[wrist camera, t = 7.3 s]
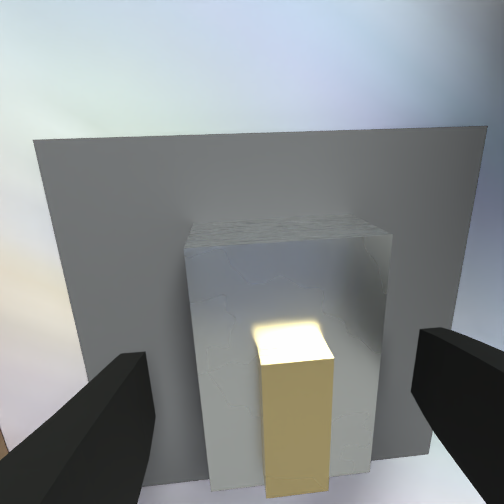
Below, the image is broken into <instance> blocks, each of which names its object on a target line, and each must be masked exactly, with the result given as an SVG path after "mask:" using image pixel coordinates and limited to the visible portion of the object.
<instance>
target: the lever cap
mask: <svg viewBox="0 0 504 504" xmlns="http://www.w3.org/2000/svg"><path fill="white" fill-rule="evenodd" d="M392 237H393V234H390V233H388V232H386V231H384V230H382V229H380V228H378V227H376V226H374V225H372V224H370V223H368V222H366V221H364V220H362V219H360V218H358V217H356V216H354V215H351V214H340V215H323V216H307V217H290V218H274V219H257V220H241V221H224V222H208V223H193V226H192V228H191V231H190V233H189V236H188V238H187V241H186V244H185V246H184V257H185V265H186V274H187V283H188V292H189V301H190V310H191V318H192V327H193V336H194V345H195V354H196V363H197V371H198V380H199V389H200V398H201V407H202V416H203V424H204V433H205V442H206V451H207V460H208V469H209V477H210V486H211V492H213V491H221V490H229V489H237V488H245V487H253V486H261V485H265V492H266V499H267V498H275V497H283V496H291V495H299V494H307V493H315V492H322V491H328V488H329V477H334V476H342V475H351V474H359V473H367V472H370V463H371V453H372V443H373V432H374V422H375V412H376V401H377V391H378V381H379V371H380V360H381V350H382V340H383V329H384V319H385V309H386V298H387V288H388V278H389V268H390V257H391V247H392Z"/></svg>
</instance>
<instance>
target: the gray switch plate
mask: <svg viewBox="0 0 504 504" xmlns="http://www.w3.org/2000/svg"><path fill="white" fill-rule="evenodd" d="M487 127H488V126H468V127H436V128H403V129H371V130H338V131H306V132H273V133H241V134H208V135H176V136H143V137H111V138H78V139H46V140H33V143H34V147H35V151H36V156H37V160H38V164H39V169H40V173H41V177H42V182H43V186H44V190H45V195H46V199H47V203H48V208H49V212H50V216H51V221H52V225H53V229H54V234H55V238H56V242H57V247H58V251H59V255H60V260H61V264H62V268H63V273H64V277H65V281H66V286H67V290H68V294H69V299H70V303H71V307H72V312H73V316H74V320H75V325H76V329H77V333H78V338H79V342H80V346H81V351H82V355H83V359H84V364H85V368H86V372H87V377H88V381H89V382H90V381H91V380H92V379H93V378H94V377H95V376H96V375H97V374H99V373H100V372H101V371H102V370H103V369H104V368H105V367H106V366H107V365H108V364H109V363H110V362H111V361H113V360H114V359H115V358H116V357H117V356H118V355H119V354H121V353H132V352H145V351H146V358H147V364H148V370H149V377H150V383H151V389H152V395H153V402H154V408H155V414H156V419H155V425H154V432H153V439H152V445H151V450H150V456H149V461H148V465H147V469H146V473H145V476H144V480H143V484H142V487H145V486H153V485H162V484H171V483H180V482H188V481H197V480H206V479H210V477H209V469H208V460H207V451H206V442H205V433H204V424H203V416H202V407H201V398H200V389H199V380H198V371H197V363H196V354H195V345H194V336H193V327H192V318H191V310H190V301H189V292H188V283H187V274H186V265H185V257H184V246H185V244H186V241H187V238H188V236H189V233H190V231H191V228H192V226H193V223H208V222H224V221H241V220H257V219H274V218H290V217H307V216H323V215H340V214H351V215H354V216H356V217H358V218H360V219H362V220H364V221H366V222H368V223H370V224H372V225H374V226H376V227H378V228H380V229H382V230H384V231H386V232H388V233H390V234H393V237H392V247H391V257H390V268H389V278H388V288H387V298H386V309H385V319H384V329H383V340H382V350H381V360H380V371H379V381H378V391H377V401H376V412H375V422H374V432H373V443H372V453H371V461H373V460H381V459H390V458H399V457H408V456H416V455H425V454H428V453H429V448H430V442H431V437H432V431H433V430H432V429H431V427H430V425H429V424H428V422H427V420H426V418H425V417H424V415H423V413H422V412H421V410H420V408H419V406H418V404H417V403H416V401H415V399H414V397H413V395H412V393H411V385H412V378H413V371H414V364H415V358H416V351H417V344H418V337H419V330H420V329H425V328H437V327H442V328H446V329H449V330H451V326H452V321H453V315H454V309H455V304H456V298H457V293H458V287H459V282H460V276H461V271H462V265H463V260H464V254H465V249H466V243H467V238H468V232H469V227H470V221H471V215H472V210H473V204H474V199H475V193H476V188H477V182H478V177H479V171H480V166H481V160H482V155H483V149H484V144H485V138H486V132H487Z"/></svg>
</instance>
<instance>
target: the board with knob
mask: <svg viewBox="0 0 504 504" xmlns="http://www.w3.org/2000/svg"><path fill="white" fill-rule="evenodd" d="M7 454H8V450H7V448H6V445H5V442H4V439H3V436H2V433H1V431H0V460H1V459H2V458H3V457H5V456H6V455H7Z"/></svg>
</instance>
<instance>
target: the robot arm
mask: <svg viewBox="0 0 504 504" xmlns="http://www.w3.org/2000/svg"><path fill="white" fill-rule="evenodd" d="M411 393H412V395H413V397H414V399H415V401H416V403H417V404H418V406H419V408H420V410H421V412H422V413H423V415H424V417H425V418H426V420H427V422H428V424H429V425H430V427H431V429H432V430H433V431H434V433H435V434H436V436H437V437H438V439H439V440H440V441H441V443H442V444H443V445H444V447H445V448H446V450H447V451H448V452H449V454H450V455H451V456H452V458H453V459H454V460H455V462H456V463H457V465H458V466H459V467H460V469H461V470H462V471H463V473H464V474H465V475H466V477H467V478H468V479H469V481H470V482H471V483H472V485H473V486H474V487H475V489H476V490H477V491H478V493H479V494H480V496H481V497H482V498H483V500H484V501H485V502H486V504H504V352H503V351H501V350H499V349H496V348H494V347H492V346H489V345H487V344H485V343H482V342H480V341H477V340H475V339H472V338H470V337H468V336H465V335H462V334H460V333H457V332H454V331H452V330H449V329H446V328H442V327H437V328H425V329H420V330H419V337H418V344H417V351H416V358H415V364H414V371H413V378H412V385H411ZM155 419H156V414H155V408H154V402H153V395H152V389H151V383H150V377H149V370H148V364H147V358H146V351H145V352H132V353H121V354H119V355H118V356H117V357H116V358H115V359H114V360H113V361H111V362H110V363H109V364H108V365H107V366H106V367H105V368H104V369H103V370H102V371H101V372H100V373H99V374H97V375H96V376H95V377H94V378H93V379H92V380H91V381H90V382H89V383H88V384H87V385H86V386H85V387H84V388H82V389H81V390H80V391H79V392H78V393H77V394H76V395H75V396H74V397H73V398H72V399H70V400H69V401H68V402H67V403H66V404H65V405H64V406H63V407H62V408H61V409H59V410H58V411H57V412H56V413H55V414H54V415H53V416H52V417H51V418H49V419H48V420H47V421H46V422H45V423H44V424H42V425H41V426H40V427H39V428H38V429H36V430H35V431H34V432H33V433H32V434H31V435H29V436H28V437H27V438H26V439H25V440H23V441H22V442H21V443H20V444H19V445H18V446H16V447H15V448H14V449H13V450H12V451H10V452H9V453H8V454H7V455H6V456H5V457H3V458H2V459H1V460H0V504H137V502H138V498H139V495H140V491H141V487H142V484H143V480H144V476H145V473H146V469H147V465H148V461H149V456H150V450H151V445H152V439H153V432H154V425H155Z"/></svg>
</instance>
